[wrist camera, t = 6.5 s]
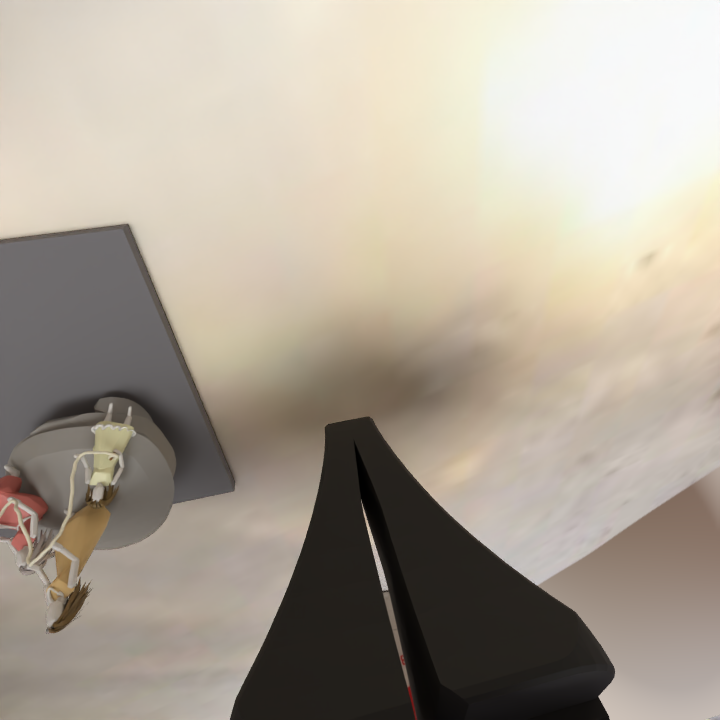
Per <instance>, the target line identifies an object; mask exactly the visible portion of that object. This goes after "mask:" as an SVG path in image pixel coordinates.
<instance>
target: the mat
mask: <svg viewBox="0 0 720 720" xmlns="http://www.w3.org/2000/svg"><path fill="white" fill-rule="evenodd" d="M106 397H118V398H125V399H129V400H131V401H134V402H136V403H137V404H139V405H140V406H141V407H143V408H144V409H145V410H146V412H147V413H148V414H149V415H150V417H151V418H152V420H153V423H154V424H155V425H156V426H157V427H158V428H159V429H160V430H161V432H162V433H163V434H164V436H165V437H166V439H167V440H168V442H169V443H170V445H171V446H172V448H173V450H174V453H175V457H176V469H175V474H174V477H173V480H174V498H173V504H175V503H180V502H185V501H189V500H194V499H199V498H204V497H209V496H213V495H218V494H223V493H228V492H233V491H234V489H235V481H234V479H233V477H232V474H231V472H230V469H229V467H228V465H227V462H226V460H225V457H224V455H223V453H222V450H221V448H220V445H219V443H218V441H217V438H216V436H215V433H214V431H213V429H212V426H211V424H210V421H209V419H208V417H207V414H206V412H205V409H204V407H203V404H202V402H201V400H200V397H199V395H198V392H197V390H196V388H195V385H194V383H193V380H192V378H191V376H190V373H189V371H188V368H187V366H186V364H185V361H184V359H183V356H182V354H181V352H180V349H179V347H178V344H177V342H176V340H175V337H174V335H173V332H172V330H171V327H170V325H169V323H168V320H167V318H166V315H165V313H164V311H163V308H162V306H161V303H160V301H159V299H158V296H157V294H156V291H155V289H154V287H153V284H152V282H151V279H150V277H149V275H148V272H147V270H146V267H145V265H144V263H143V260H142V258H141V255H140V253H139V250H138V248H137V246H136V243H135V241H134V238H133V236H132V234H131V231H130V229H129V226H128V224H127V225H119V226H110V227H102V228H94V229H86V230H78V231H70V232H62V233H54V234H45V235H37V236H29V237H21V238H13V239H5V240H0V478H2V477H4V476H5V471H6V469H5V468H4V466H5V465H7V464H8V460H9V458H10V455H11V453H12V451H13V449H14V448H15V446H16V445H17V444H18V443H20V442H21V441H22V440H23V439H25V438H27V437H28V436H30V433H31V432H32V431H33V430H35V429H36V428H37V427H38V426H40V425H42V424H44V423H45V422H47V421H49V420H52V419H58V418H63V417H69V416H74V415H80V414H86V413H95V408H94V406H95V404H96V403H97V402H98V400H99V399H101V398H106ZM17 532H18V531H17V530H14V529H8V528H4V529H0V537H5V538H11V537H15V535H16V533H17Z"/></svg>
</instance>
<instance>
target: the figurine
mask: <svg viewBox="0 0 720 720" xmlns="http://www.w3.org/2000/svg"><path fill="white" fill-rule="evenodd" d="M94 408H95V413H86V414H80V415H74V416H69V417H63V418H58V419H52V420H49V421H47V422H45V423H44V424H42V425H40V426H38V427H37V428H36V429H35V430H33V431H32V432H31V433H30V436H28V437H27V438H25V439H23V440H22V441H21V442H20V443H18V444H17V445H16V446H15V448H14V449H13V451H12V453H11V455H10V458H9V460H8V464H7V465H5V466H4V468H5V469H6V471H5V476H4V477H2V478H0V529H4V528H8V529H14V530H17V531H18V532H17V533H16V535H15V537H14V538H13V539H10V538H5V537H0V542H7V544H8V546H9V547H10V549H11V550H12V551H13V553H14V554H15V555H16V557H15V561H16V564H17V566H18V567H19V571H20V572H21V573H22V574H24V575H30V574H33V573H35V572H36V573H37V575H38V576H39V577H40V579H41V580H42V582H43V583H44V584H45V586H44V593H45V599H46V603H47V606H48V608H47V612H46V622H47V625H48V627H47V629H46V634H47V633H56V632H59V631H60V630H62V629H64V628H65V626H66V625H68V624H70V623H71V622H72V621H71V620H72V619H73V618H74V617H75V616H76V614H77V613H78V611H79V610H80V608H81V607H82V605H83V602H84V601H85V599H86V597H88V596H89V595H88V594H89V592H90V591H89V592H87V590H88V589H87V588H88V586H89V584H90V583H89V584H88V586H87V587H85V588H84V586H85V584H84V585H83V587H82V589H81V590H80V587H79V586H81V585H80V579H79V582H78V585H77V583H76V582H77V577H78V576H79V574H80V573H81V571H82V569H83V567H84V566H85V564H86V562H87V560H88V559H89V557H90V555H91V553H92V551H93V550H111V549H118V548H122V547H126V546H129V545H132V544H135V543H137V542H140V541H142V540H143V539H145V538H147V537H148V536H150V535H151V534H153V533H154V532H155V531H156V530H157V529H158V528H159V527H160V526H161V525H162V524H163V522H164V521H165V520H166V518H167V516H168V514H169V512H170V509H171V507H172V504H173V498H174V480H173V477H174V474H175V469H176V457H175V453H174V450H173V448H172V446H171V445H170V443H169V442H168V440H167V439H166V437H165V436H164V434H163V433H162V432H161V430H160V429H159V428H158V427H157V426H156V425H155V424H154V423H153V420H152V418H151V417H150V415H149V414H148V413H147V412H146V410H145V409H144V408H143V407H141V406H140V405H139V404H137V403H136V402H134V401H131V400H129V399H125V398H118V397H106V398H101V399H99V400H98V402H97V403H96V404H95V406H94ZM34 541H35V542H34ZM37 542H38V543H37ZM36 543H37V544H36ZM33 544H34V547H33ZM52 549H54V550H55V551H54V552H53V553H51V551H52ZM50 553H51V554H50ZM54 554H55V555H54ZM53 555H54V556H55V558H56V567H57V577H56V579H55V580H54V581H53V582H52V583H50V581H49V579H48V577H47V576H46V574H45V573H44V571H43V570H42V568H43V567H44V566H45V564H46V562H47V560H48V558H50V557H52V556H53ZM54 556H53V557H54ZM41 564H42V565H41ZM90 582H91V581H90ZM85 583H86V582H85ZM75 585H77V587H76V586H75ZM84 589H85V590H84ZM90 589H91V588H90ZM90 589H89V590H90ZM92 589H93V588H92ZM73 591H74V592H73ZM79 591H80V592H79ZM87 593H88V594H87ZM70 594H71V595H70ZM69 595H70V596H69ZM87 595H88V596H87ZM68 596H69V598H68ZM68 599H69V600H68ZM86 605H87V604H86ZM79 613H80V612H79ZM79 613H78V614H79ZM79 617H80V616H79ZM75 618H76V617H75ZM75 618H74V620H75ZM77 618H78V617H77ZM77 618H76V619H77ZM74 620H73V621H74Z"/></svg>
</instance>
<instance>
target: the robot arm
mask: <svg viewBox="0 0 720 720" xmlns="http://www.w3.org/2000/svg"><path fill="white" fill-rule="evenodd" d="M361 500H362V503H361ZM362 504H363V507H364V510H365V513H366V516H367V520H368V523H369V526H370V529H371V532H372V536H373V539H374V542H375V545H376V548H377V551H378V555H379V558H380V561H381V564H382V567H383V571H384V574H385V578H386V582H387V585H388V590H389V594H390V599H391V603H392V607H393V612H394V616H395V621H396V625H397V630H398V634H399V639H400V643H401V648H402V652H403V657H404V662H405V666H406V671H407V675H408V680H409V685H410V689H411V694H412V699H413V703H414V708H415V713H416V717H417V720H610V719H609V716H608V714H607V712H606V710H605V708H604V707H603V705H602V703H601V701H600V699H599V697H598V696H599V695H600V694H601V693H602V692H603V690H604V689H605V688H606V687H607V686H608V685H609V684H610V683H611V681H612V680H613V678H614V675H615V669H614V666H613V664H612V663H611V661H610V660H609V658H608V656H607V654H606V653H605V651H604V650H603V648H602V646H601V645H600V644H599V642H598V641H597V639H596V638H595V637H594V635H593V634H592V633H591V631H590V630H589V629H588V627H587V626H586V625H585V623H584V622H583V621H582V620H581V618H580V617H579V616H578V614H577V613H576V612H575V611H573V610H572V609H570V608H569V607H567V606H566V605H564V604H563V603H561V602H560V601H558V600H557V599H555V598H554V597H552V596H551V595H549V594H548V593H547V592H545V591H544V590H542V589H541V588H539V587H538V586H537V585H535V584H534V583H532V582H531V581H530V580H528V579H527V578H526V577H524V576H523V575H521V574H520V573H519V572H517V571H516V570H515V569H513V568H512V567H511V566H509V565H508V564H507V563H505V562H504V561H503V560H502V559H501V558H499V557H498V556H497V555H496V554H494V553H493V552H492V551H491V550H489V549H488V548H487V547H486V546H485V545H483V544H482V543H481V542H480V541H478V540H477V539H476V538H475V537H474V536H472V535H471V534H470V533H469V532H468V531H467V530H466V529H465V528H463V527H462V526H461V525H460V524H459V523H458V522H457V521H456V520H455V519H454V518H453V517H452V516H450V515H449V514H448V513H447V512H446V511H445V510H444V509H443V508H442V507H441V506H440V505H439V504H438V503H437V502H436V501H435V500H434V499H433V498H432V497H431V496H430V494H429V493H428V492H427V491H426V490H425V489H424V488H423V487H422V486H421V485H420V484H419V482H418V481H417V480H416V479H415V478H414V477H413V476H412V474H411V473H410V472H409V471H408V470H407V468H406V467H405V466H404V465H403V463H402V462H401V461H400V460H399V458H398V457H397V456H396V454H395V453H394V452H393V451H392V449H391V448H390V446H389V445H388V444H387V442H386V441H385V439H384V438H383V436H382V435H381V433H380V432H379V430H378V428H377V427H376V425H375V423H374V421H373V419H372V418H370V417H363V418H358V419H353V420H347V421H342V422H337V423H332V424H328V425H327V426H326V427H325V453H324V461H323V467H322V473H321V479H320V484H319V489H318V494H317V498H316V502H315V506H314V510H313V514H312V518H311V521H310V525H309V528H308V531H307V535H306V538H305V541H304V544H303V547H302V550H301V553H300V556H299V559H298V561H297V564H296V567H295V570H294V572H293V575H292V578H291V580H290V583H289V586H288V588H287V591H286V593H285V595H284V598H283V600H282V602H281V605H280V607H279V609H278V612H277V614H276V616H275V618H274V621H273V623H272V625H271V628H270V630H269V632H268V634H267V637H266V639H265V641H264V643H263V645H262V647H261V649H260V651H259V653H258V655H257V657H256V659H255V661H254V663H253V665H252V667H251V669H250V671H249V673H248V675H247V677H246V679H245V681H244V683H243V685H242V687H241V689H240V691H239V693H238V695H237V697H236V700H235V703H234V707H233V710H232V714H231V718H230V720H416V719H415V715H414V711H413V706H412V702H411V698H410V695H409V691H408V687H407V683H406V680H405V676H404V672H403V669H402V665H401V661H400V657H399V653H398V650H397V646H396V642H395V638H394V634H393V630H392V627H391V623H390V619H389V615H388V611H387V607H386V603H385V599H384V595H383V591H382V588H381V584H380V580H379V576H378V572H377V568H376V564H375V559H374V555H373V551H372V547H371V543H370V539H369V535H368V531H367V527H366V522H365V518H364V514H363V509H362ZM706 720H720V715H719V716H715V717H712V718H709V719H706Z"/></svg>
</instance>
